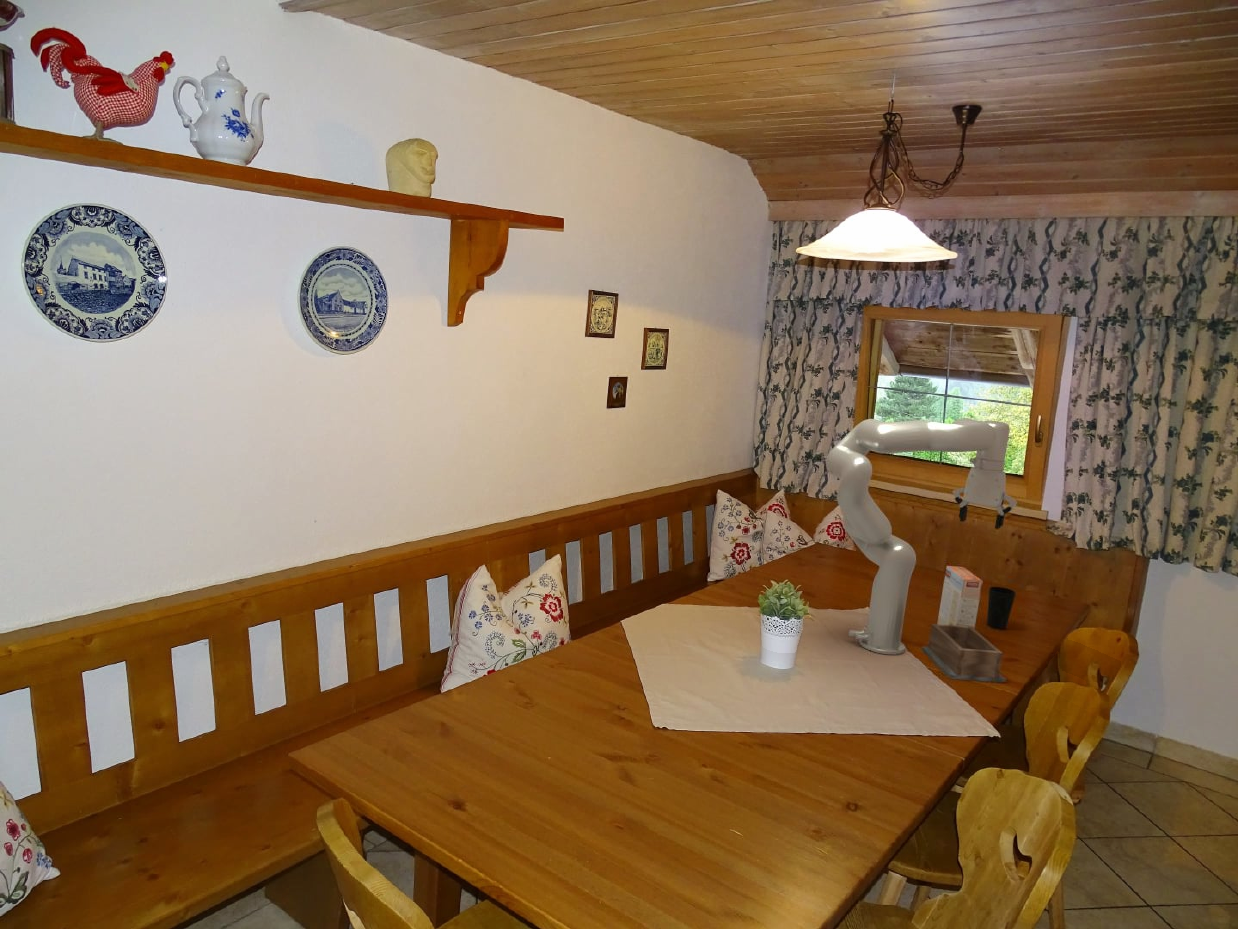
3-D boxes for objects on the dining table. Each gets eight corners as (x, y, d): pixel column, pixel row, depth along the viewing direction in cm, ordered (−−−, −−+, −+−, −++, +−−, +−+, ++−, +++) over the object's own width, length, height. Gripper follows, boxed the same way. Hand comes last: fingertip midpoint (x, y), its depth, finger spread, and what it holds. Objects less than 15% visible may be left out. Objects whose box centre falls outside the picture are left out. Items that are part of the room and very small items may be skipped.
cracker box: (972, 650, 255) (983, 580, 251) (951, 648, 255) (962, 578, 251) (955, 632, 269) (965, 566, 265) (935, 630, 269) (945, 564, 265)
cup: (1005, 633, 272) (1012, 596, 270) (980, 626, 277) (986, 589, 275) (1012, 627, 278) (1018, 591, 276) (987, 620, 283) (993, 584, 281)
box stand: (949, 678, 232) (954, 649, 230) (921, 649, 251) (925, 622, 250) (1005, 682, 232) (1010, 654, 231) (972, 653, 252) (977, 626, 251)
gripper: (953, 461, 249) (945, 520, 252) (1018, 471, 239) (1008, 533, 242) (962, 459, 255) (953, 516, 258) (1025, 469, 244) (1015, 529, 247)
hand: (980, 524), depth 250 cm, fingers open, 9 cm apart
